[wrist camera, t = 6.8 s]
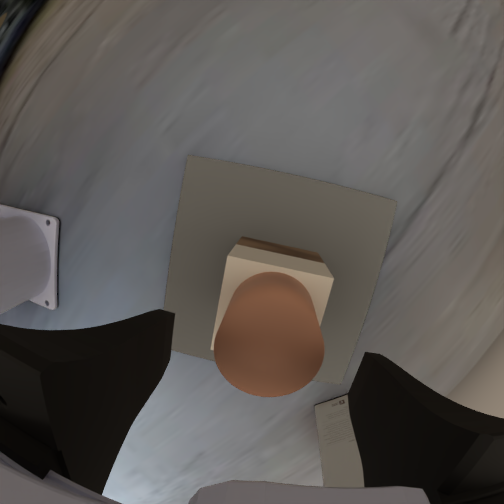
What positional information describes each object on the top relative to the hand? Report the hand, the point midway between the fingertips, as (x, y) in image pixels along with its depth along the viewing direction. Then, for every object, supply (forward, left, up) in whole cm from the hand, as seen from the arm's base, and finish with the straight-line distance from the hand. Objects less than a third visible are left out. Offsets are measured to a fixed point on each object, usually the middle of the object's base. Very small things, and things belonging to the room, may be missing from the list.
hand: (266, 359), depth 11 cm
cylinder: (0, 0, -4) cm, 4 cm away
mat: (0, 0, -10) cm, 10 cm away
